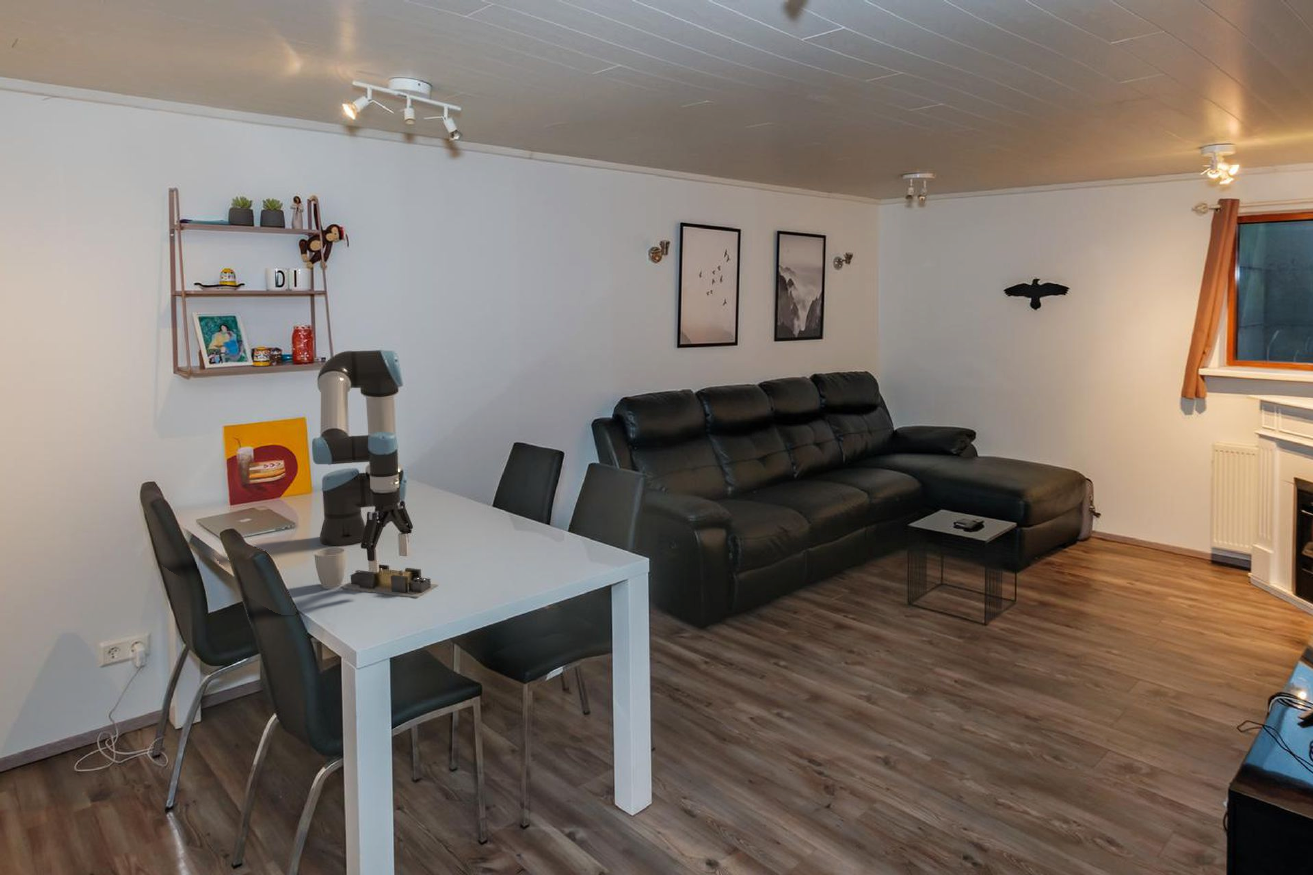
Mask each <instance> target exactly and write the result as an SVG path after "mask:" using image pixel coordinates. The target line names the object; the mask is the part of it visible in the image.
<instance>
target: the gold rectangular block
mask: <svg viewBox="0 0 1313 875" xmlns="http://www.w3.org/2000/svg"><path fill="white" fill-rule="evenodd" d="M373 573H375V587H382V588H390V589H391V576H392V575H398V576H406V577H407V585H408V588H409V582H410V581H412V572H405V570H393V569H389V570H387V569H382V568H379V572H373Z"/></svg>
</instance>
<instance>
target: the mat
mask: <svg viewBox="0 0 1313 875" xmlns="http://www.w3.org/2000/svg"><path fill="white" fill-rule="evenodd" d="M437 587H439V584H437V583H436V584H435V583H431V588H429V589H428V590H426V591H424V592H422V593H418V592H410V591H409V588H408V592H407V593H400V592H392V589H390V588H382V587H375V588H374V589H368V588H360V587H359V585H355V584H351V582H350V583H348V584H347V585H344V586H343V587H342V589H343V590H350V591H351V590H353V591H361V592H365V593H367V592H368V593H375V594H376V593H377V594H382V595H383V594H384V595H391V596H396V597H397V596H399V597H407V598H416V599H418V598H421V597H422V596H423V595H426V594H427V593H428V592H431V591H432V590H434V589H435V588H437Z"/></svg>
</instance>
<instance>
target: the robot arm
mask: <svg viewBox="0 0 1313 875" xmlns="http://www.w3.org/2000/svg"><path fill="white" fill-rule="evenodd" d="M399 361H400V360H399V356H398V353H397V352H396V351H394V350H383V349H378V350H347V351H346V350H345V351H342V352H339V353H336V354H335V355H334V356H332V357H330V358H329V359H328V360H327V361H326V362H325V363H324V364H323V365H322V367H321V368H320V370H319V372H318V375H317V381H316V382H317V385H316V386H317V389H318V391H319V392H320V430H319V432H320V436H319V437H314V438H313V439H312V441H311V451H312V461H313V463H314V464H316V465H329V466H330V465H339V464H340V465H343V464H353V463H358V464H359V463H369V464H367V466H366V467H365V472H360V470H359V469H358V468H357V467H356V468H355V467H353V468H351V467H349V468H343V469H338V470H334V471H331V472H329V473H326V474H325V475H324V476H322V479H321V483H322V484H321V491H322V504H323V522H322V526H321V530H320V533H319V541H320V543H321V544H322V545H327V546H347V545H354V544H358V543H361V544H360V548H361V549H363V550H366V555H367V556H366V558H367V561H368V564H367V565H368V571H370V572H379V565H380V564H379V549H378V548H377V545H378V542H379V539H380V537H381V535H382V532H383V529H384V528H385V527H386V526H387V524H389V523H390V522H392V523H393V525H394V526H395V527H396V528H397V530H398V531H399V533H397V538H398V539H397V540H398V542H397V543H398V556H400V557H409V556H410V554H409V553H410V552H409V534H411V533H412V531H413V529H414V525H413V523H412V520H411V518H410V515H409V513H408V511H407V508H406V502H405V501H406V500H405V499H406V495H407V484H408V483H407V481H408V480H407V479H408V474H407V470H406V469H403V466H402V464H401V463H399V453H398V452H399V451H398V448H399V446H398V438H397V432H396V415H395V412H396V411H395V409H396V408H395V396H397V394H398V393H399V388H401V387H403V386H404V382H403V377H402V372H401V367H400V362H399ZM351 389H360V394H361V395H362V396H363V397H364V398H365V401H366V402H365V405H366V417H367V418H366V419H367V420H366V421H367V435H364V434H363V435H350V433H349V431H350V430H349V398H348V397H349V395H348V394H349V392H350V390H351ZM362 508H374V511H367V512H366V522H365V520H364V518H363V516H362V515H363V514H362Z"/></svg>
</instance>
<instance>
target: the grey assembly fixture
mask: <svg viewBox="0 0 1313 875" xmlns="http://www.w3.org/2000/svg"><path fill="white" fill-rule="evenodd" d="M379 568H382V569H387V570H390V565H386V564H379ZM404 572H412V581H410V582H409V591H410V592H418V593H422V592H424V591H426V590H428V589H429V588H431V584H432V583H431V581H432V580H431V578H426V577H422V569H420V568H414V567H413V568H412V567H405V568H404ZM350 583H351V584H355V585H359V587H360V588H368V589H374V588H375V573H373V572H372V571H369V570H360V569H358V570H355V572H354V573H352V574H350ZM391 589H392V592H400V593H407V592H408V585H407V577H406V576H398V575H392V576H391Z"/></svg>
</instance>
